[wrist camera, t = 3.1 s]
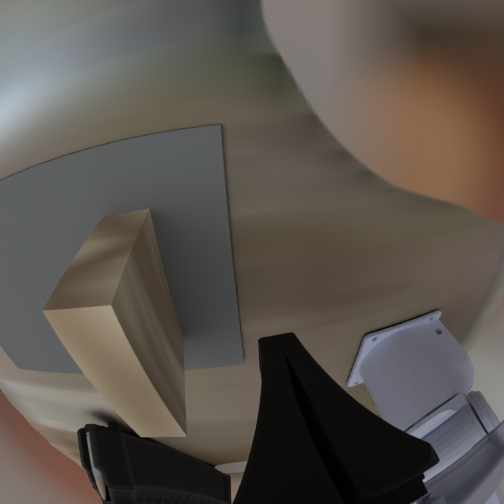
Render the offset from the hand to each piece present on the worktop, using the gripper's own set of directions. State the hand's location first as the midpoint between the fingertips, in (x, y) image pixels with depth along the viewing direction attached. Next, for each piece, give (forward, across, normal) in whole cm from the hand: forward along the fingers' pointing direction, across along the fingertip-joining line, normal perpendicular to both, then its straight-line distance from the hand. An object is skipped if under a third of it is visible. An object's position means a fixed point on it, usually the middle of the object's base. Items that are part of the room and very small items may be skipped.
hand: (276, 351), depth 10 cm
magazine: (+6, +13, +29) cm, 33 cm away
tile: (+6, +6, 0) cm, 8 cm away
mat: (+6, +12, 0) cm, 13 cm away
